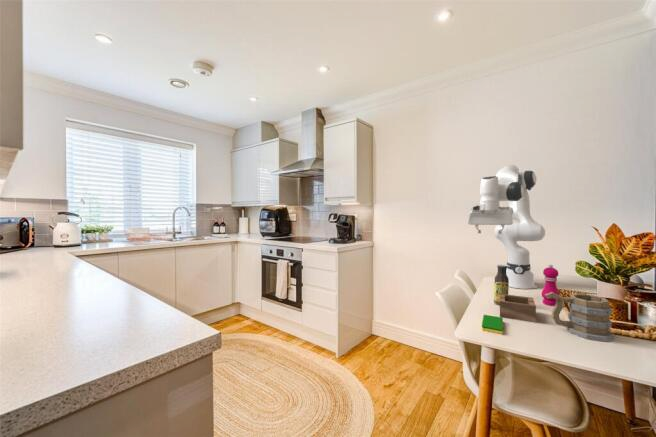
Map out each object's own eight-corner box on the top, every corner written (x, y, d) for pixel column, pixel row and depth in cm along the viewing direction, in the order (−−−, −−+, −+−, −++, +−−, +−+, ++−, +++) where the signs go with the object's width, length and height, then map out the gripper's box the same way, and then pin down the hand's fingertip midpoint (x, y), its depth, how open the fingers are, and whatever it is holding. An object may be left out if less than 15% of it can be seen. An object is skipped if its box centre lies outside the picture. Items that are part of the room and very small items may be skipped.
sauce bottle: (495, 305, 137) (494, 266, 136) (492, 301, 143) (492, 263, 142) (510, 306, 135) (510, 266, 134) (507, 302, 141) (506, 264, 140)
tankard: (602, 329, 108) (603, 292, 108) (619, 344, 97) (620, 302, 96) (540, 321, 117) (540, 287, 116) (549, 334, 106) (549, 295, 105)
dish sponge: (481, 331, 110) (481, 326, 110) (483, 319, 121) (483, 314, 121) (502, 335, 106) (502, 329, 106) (502, 322, 118) (502, 317, 117)
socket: (499, 307, 134) (499, 293, 133) (532, 312, 127) (532, 297, 126) (499, 316, 123) (499, 301, 122) (535, 322, 116) (535, 306, 115)
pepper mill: (553, 301, 140) (553, 263, 139) (563, 306, 133) (564, 266, 132) (538, 301, 141) (538, 263, 140) (548, 306, 134) (548, 266, 133)
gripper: (513, 206, 140) (513, 233, 140) (468, 207, 151) (468, 232, 151) (513, 206, 134) (513, 234, 135) (467, 207, 145) (467, 233, 145)
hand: (489, 233), depth 143 cm, fingers open, 8 cm apart
